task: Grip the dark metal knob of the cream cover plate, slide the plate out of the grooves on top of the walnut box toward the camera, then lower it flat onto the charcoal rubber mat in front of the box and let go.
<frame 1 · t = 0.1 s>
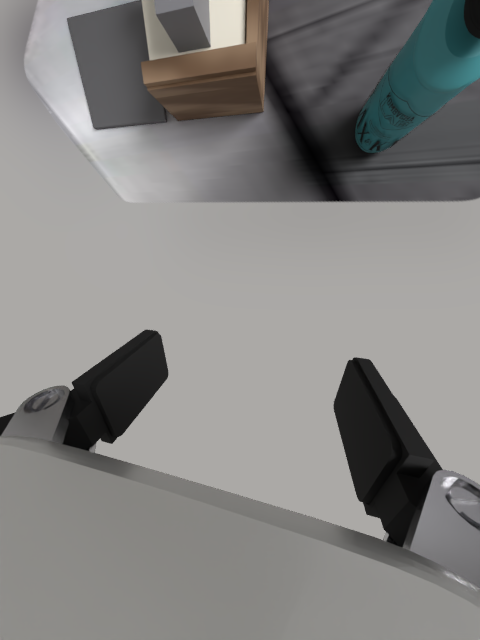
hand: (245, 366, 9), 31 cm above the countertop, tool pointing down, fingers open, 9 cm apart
charcoal mat: (121, 74, 30), on the countertop
cover plate: (195, 16, 21), point 6 cm above the countertop, touching walnut box
walnut box: (217, 58, 26), on the countertop
beverage bottle: (375, 130, 26), on the countertop
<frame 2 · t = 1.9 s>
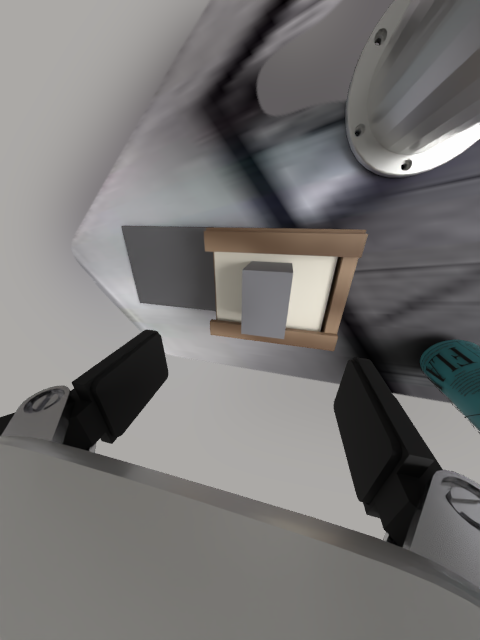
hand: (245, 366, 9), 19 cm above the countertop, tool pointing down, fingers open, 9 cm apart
charcoal mat: (173, 269, 29), on the countertop
cover plate: (269, 288, 21), point 6 cm above the countertop, touching walnut box
walnut box: (276, 276, 26), on the countertop
beverage bottle: (439, 351, 26), on the countertop
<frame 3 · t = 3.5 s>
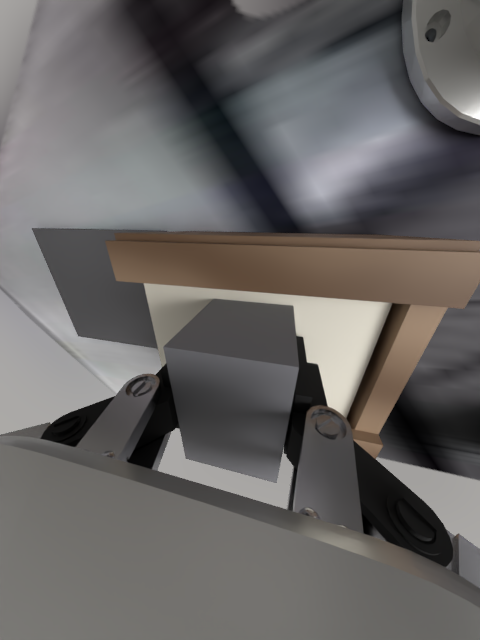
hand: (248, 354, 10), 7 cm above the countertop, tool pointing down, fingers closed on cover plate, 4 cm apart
charcoal mat: (116, 292, 20), on the countertop
cover plate: (252, 342, 11), point 6 cm above the countertop, touching gripper, walnut box
walnut box: (268, 307, 17), on the countertop
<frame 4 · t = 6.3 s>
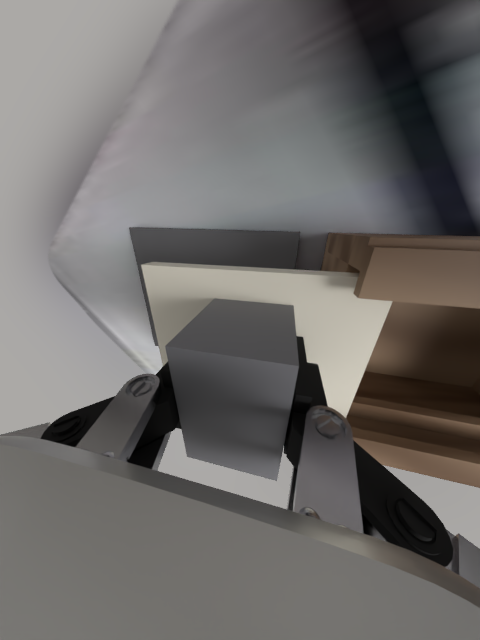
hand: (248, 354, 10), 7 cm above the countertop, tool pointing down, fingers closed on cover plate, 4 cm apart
charcoal mat: (212, 299, 18), on the countertop
cover plate: (253, 341, 12), point 6 cm above the countertop, touching gripper
walnut box: (405, 319, 15), on the countertop
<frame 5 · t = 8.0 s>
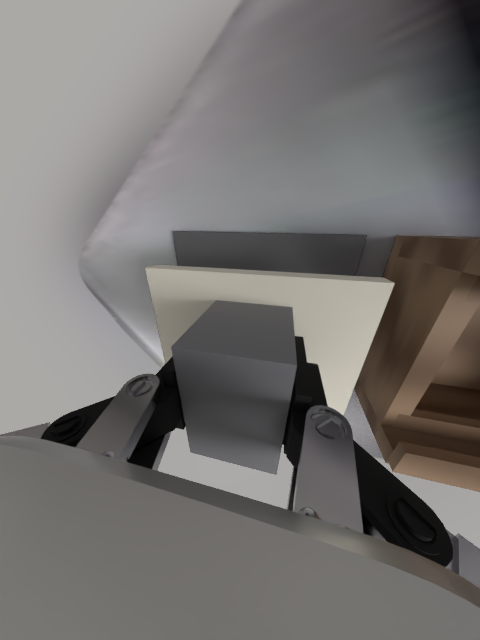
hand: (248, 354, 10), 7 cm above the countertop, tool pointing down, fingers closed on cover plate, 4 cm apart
charcoal mat: (257, 306, 17), on the countertop
cover plate: (253, 341, 12), point 5 cm above the countertop, touching gripper
walnut box: (473, 327, 14), on the countertop
when the fingers open (3 cm above the countertop, at t = 9.2 s): cover plate stays where it is, resting on charcoal mat.
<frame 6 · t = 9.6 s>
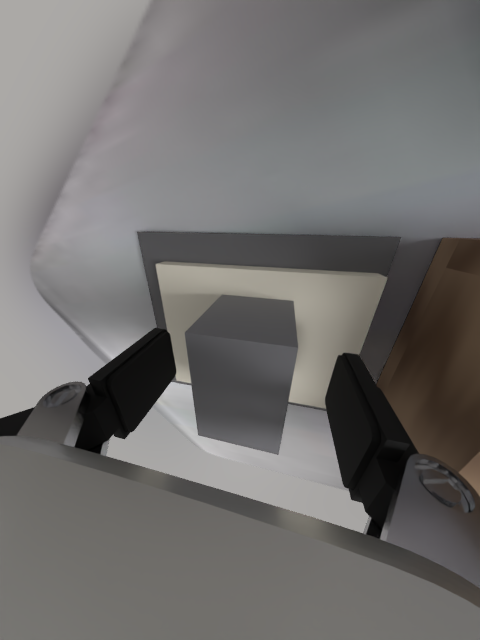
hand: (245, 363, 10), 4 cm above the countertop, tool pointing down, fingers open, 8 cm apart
charcoal mat: (249, 327, 13), on the countertop
cover plate: (256, 335, 13), point 1 cm above the countertop, touching charcoal mat
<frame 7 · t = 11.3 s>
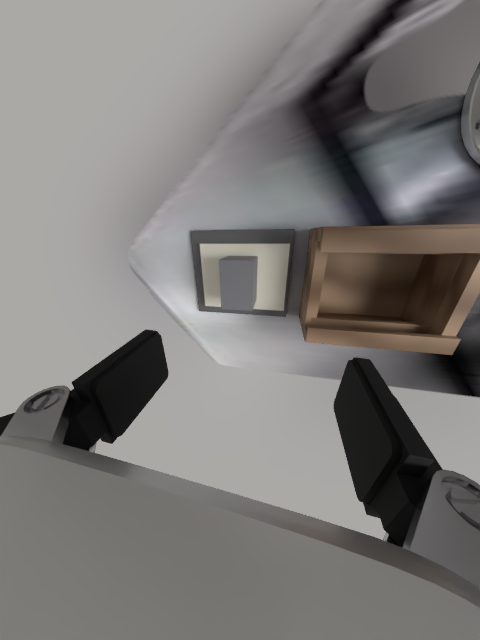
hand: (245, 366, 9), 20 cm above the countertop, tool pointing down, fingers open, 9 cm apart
charcoal mat: (241, 274, 28), on the countertop
cover plate: (244, 276, 27), point 1 cm above the countertop, touching charcoal mat
walnut box: (359, 278, 25), on the countertop
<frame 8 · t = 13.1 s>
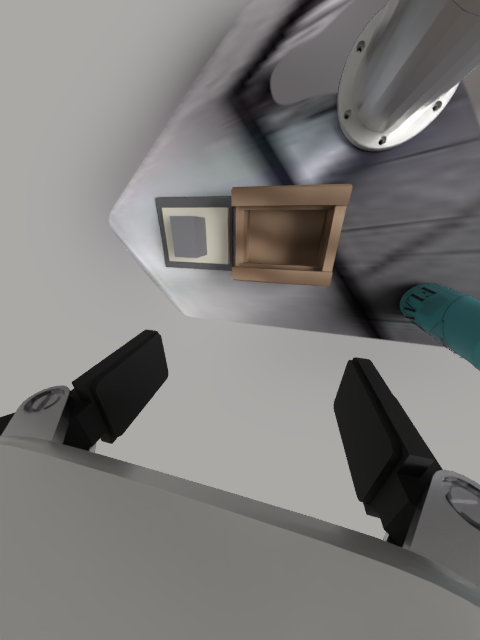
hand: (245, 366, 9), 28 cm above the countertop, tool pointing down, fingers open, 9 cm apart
charcoal mat: (196, 235, 35), on the countertop
cover plate: (198, 236, 34), point 1 cm above the countertop, touching charcoal mat
walnut box: (283, 237, 32), on the countertop
beverage bottle: (415, 298, 32), on the countertop
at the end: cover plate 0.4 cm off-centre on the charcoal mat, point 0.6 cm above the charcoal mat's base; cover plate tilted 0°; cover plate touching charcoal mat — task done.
